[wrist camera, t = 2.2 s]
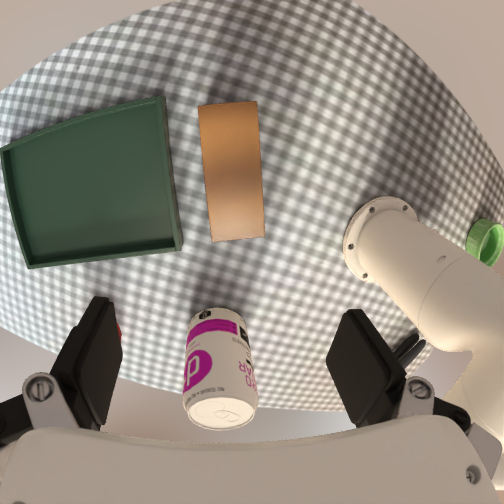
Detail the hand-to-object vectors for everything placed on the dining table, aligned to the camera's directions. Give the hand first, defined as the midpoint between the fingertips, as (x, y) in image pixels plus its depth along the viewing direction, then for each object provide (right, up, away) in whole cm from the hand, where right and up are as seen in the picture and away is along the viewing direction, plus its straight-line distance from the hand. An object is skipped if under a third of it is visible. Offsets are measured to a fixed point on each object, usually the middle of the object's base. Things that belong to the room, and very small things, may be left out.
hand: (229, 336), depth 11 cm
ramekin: (+43, +6, +29) cm, 52 cm away
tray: (-19, +11, +18) cm, 29 cm away
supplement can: (-4, -7, +28) cm, 30 cm away
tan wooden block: (-2, +13, +19) cm, 23 cm away
